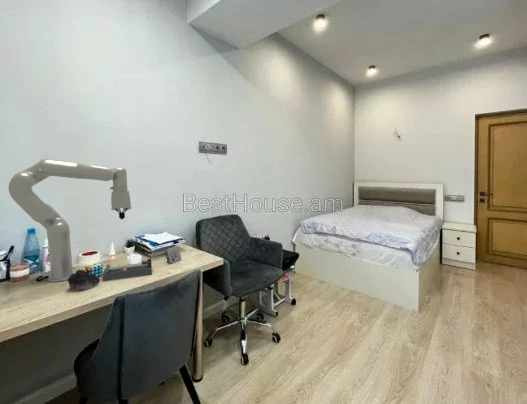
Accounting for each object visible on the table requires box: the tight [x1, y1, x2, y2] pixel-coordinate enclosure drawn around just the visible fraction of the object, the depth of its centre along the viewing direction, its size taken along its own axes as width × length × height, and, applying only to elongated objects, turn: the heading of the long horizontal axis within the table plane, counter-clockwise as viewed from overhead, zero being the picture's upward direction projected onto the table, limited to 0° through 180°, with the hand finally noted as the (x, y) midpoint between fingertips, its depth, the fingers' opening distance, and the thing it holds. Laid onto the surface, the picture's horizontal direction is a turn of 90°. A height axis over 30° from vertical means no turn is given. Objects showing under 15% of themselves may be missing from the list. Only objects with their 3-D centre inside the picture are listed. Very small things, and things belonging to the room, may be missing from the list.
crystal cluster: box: [67, 269, 101, 291], centre depth 137 cm, size 13×14×10 cm
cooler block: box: [102, 258, 153, 282], centre depth 151 cm, size 24×9×7 cm, turn 114°
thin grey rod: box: [109, 260, 148, 270], centre depth 151 cm, size 22×3×2 cm, turn 114°
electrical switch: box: [164, 245, 182, 264], centre depth 174 cm, size 9×5×9 cm, turn 152°
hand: (122, 219), depth 163 cm, fingers closed
